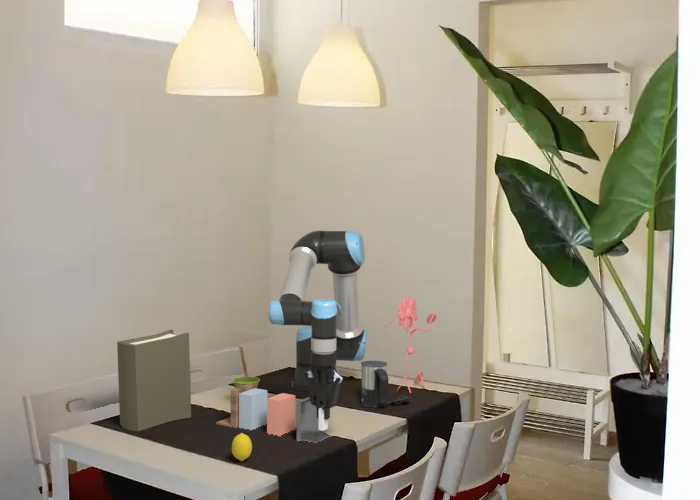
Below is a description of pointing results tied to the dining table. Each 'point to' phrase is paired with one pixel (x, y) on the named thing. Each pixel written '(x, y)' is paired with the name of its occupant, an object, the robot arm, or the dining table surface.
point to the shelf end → (235, 406)
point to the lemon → (241, 447)
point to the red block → (281, 414)
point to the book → (154, 380)
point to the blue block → (252, 409)
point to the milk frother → (376, 385)
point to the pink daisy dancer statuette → (406, 318)
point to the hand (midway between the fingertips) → (323, 429)
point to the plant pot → (245, 381)
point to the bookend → (308, 422)
